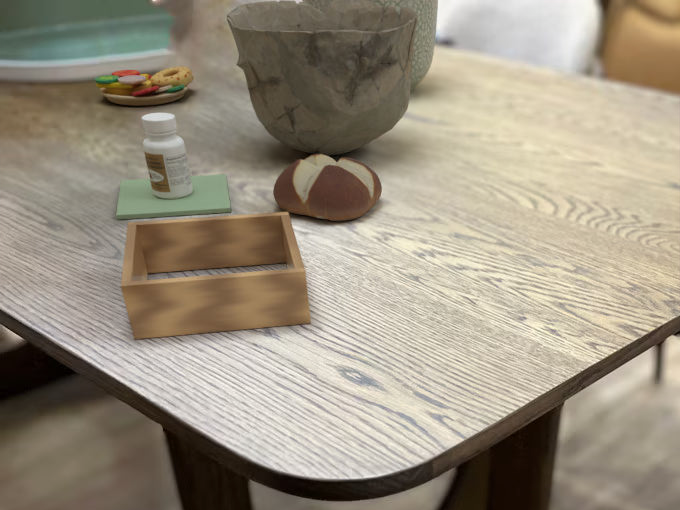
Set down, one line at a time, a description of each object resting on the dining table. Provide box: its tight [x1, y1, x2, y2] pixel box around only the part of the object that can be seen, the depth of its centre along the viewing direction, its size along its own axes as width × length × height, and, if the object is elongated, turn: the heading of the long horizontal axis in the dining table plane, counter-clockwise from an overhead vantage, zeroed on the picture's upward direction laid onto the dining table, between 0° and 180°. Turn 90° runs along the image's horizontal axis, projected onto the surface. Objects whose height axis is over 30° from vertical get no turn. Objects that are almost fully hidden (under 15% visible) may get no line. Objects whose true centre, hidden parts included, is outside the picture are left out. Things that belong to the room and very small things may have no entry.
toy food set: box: [94, 65, 195, 107], centre depth 127 cm, size 13×13×3 cm
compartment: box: [120, 211, 312, 340], centre depth 74 cm, size 15×15×4 cm
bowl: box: [226, 0, 418, 156], centre depth 104 cm, size 22×22×15 cm
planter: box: [301, 0, 439, 92], centre depth 127 cm, size 21×21×19 cm
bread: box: [272, 153, 383, 222], centre depth 92 cm, size 11×11×5 cm
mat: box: [115, 173, 232, 221], centre depth 95 cm, size 12×12×1 cm
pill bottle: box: [141, 112, 193, 199], centre depth 92 cm, size 4×4×8 cm
